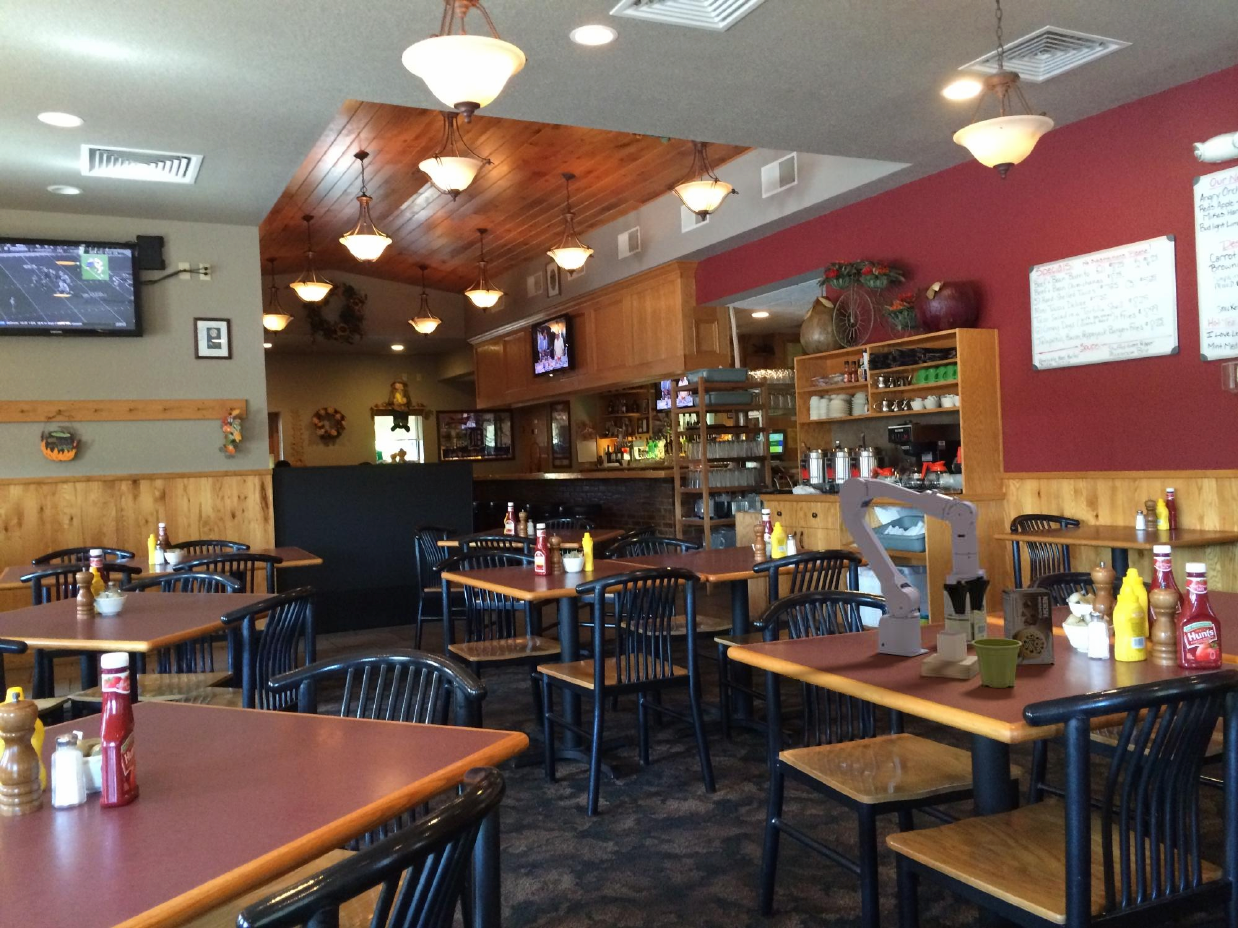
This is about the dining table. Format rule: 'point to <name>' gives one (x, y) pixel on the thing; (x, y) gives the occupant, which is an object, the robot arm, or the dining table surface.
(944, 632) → the white rectangular block
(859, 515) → the robot arm
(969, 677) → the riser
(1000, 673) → the plant pot
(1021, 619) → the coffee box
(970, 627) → the coffee can
